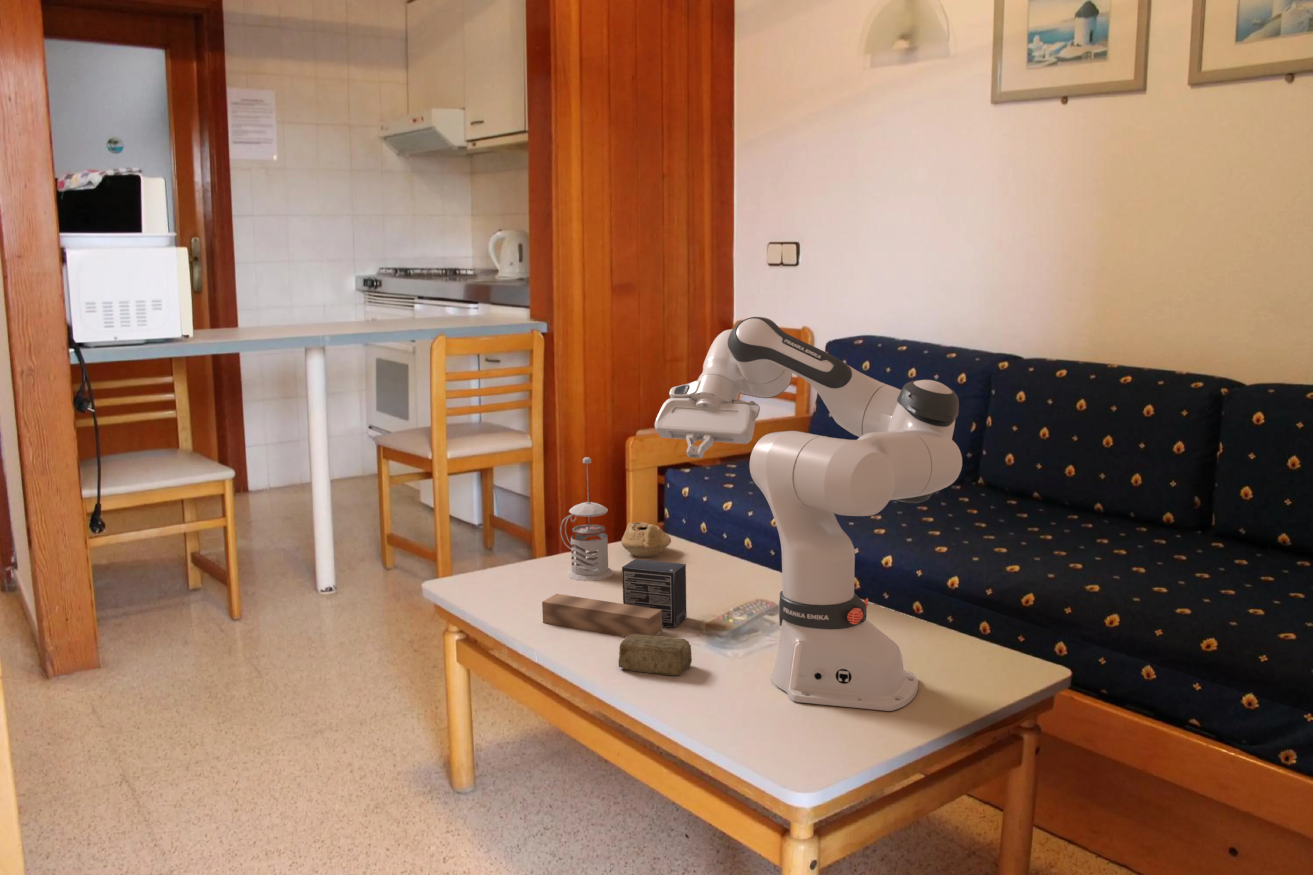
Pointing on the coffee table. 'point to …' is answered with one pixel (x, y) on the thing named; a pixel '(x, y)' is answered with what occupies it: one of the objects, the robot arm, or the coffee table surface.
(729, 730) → the coffee table surface
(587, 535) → the french press
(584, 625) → the batten
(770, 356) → the robot arm
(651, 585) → the small box
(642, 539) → the oil lamp
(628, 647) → the stone block
